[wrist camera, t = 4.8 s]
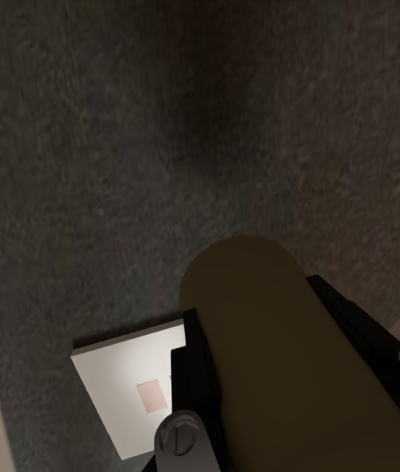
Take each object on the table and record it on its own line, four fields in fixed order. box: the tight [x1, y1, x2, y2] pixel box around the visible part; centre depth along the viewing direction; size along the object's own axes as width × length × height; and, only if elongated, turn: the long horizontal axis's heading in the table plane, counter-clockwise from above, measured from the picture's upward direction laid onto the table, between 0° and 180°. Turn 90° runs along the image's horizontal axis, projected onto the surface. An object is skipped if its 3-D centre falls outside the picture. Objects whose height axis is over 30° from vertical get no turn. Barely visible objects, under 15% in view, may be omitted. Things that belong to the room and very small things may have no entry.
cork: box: [179, 235, 400, 472], centre depth 8 cm, size 6×6×11 cm
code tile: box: [71, 318, 186, 460], centre depth 23 cm, size 12×12×1 cm
